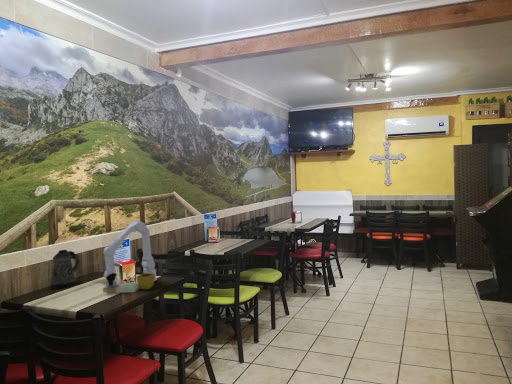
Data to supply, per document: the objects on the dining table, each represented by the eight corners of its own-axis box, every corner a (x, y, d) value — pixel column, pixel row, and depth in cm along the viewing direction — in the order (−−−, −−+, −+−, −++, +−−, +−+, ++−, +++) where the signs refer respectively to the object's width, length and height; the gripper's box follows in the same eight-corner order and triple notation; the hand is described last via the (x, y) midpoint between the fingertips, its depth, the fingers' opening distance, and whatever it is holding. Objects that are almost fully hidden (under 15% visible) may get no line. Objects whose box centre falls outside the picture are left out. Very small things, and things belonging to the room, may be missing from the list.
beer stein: (45, 288, 276) (42, 252, 274) (66, 280, 294) (64, 247, 293) (64, 289, 270) (61, 253, 269) (84, 281, 289) (82, 247, 288)
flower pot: (148, 290, 254) (147, 277, 254) (136, 290, 257) (136, 276, 257) (156, 286, 262) (155, 273, 262) (144, 286, 265) (143, 273, 265)
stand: (108, 288, 264) (107, 285, 264) (120, 288, 263) (120, 284, 263) (103, 291, 258) (102, 287, 257) (116, 291, 256) (115, 287, 256)
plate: (107, 290, 261) (106, 279, 261) (117, 289, 260) (116, 279, 260) (106, 290, 260) (106, 280, 260) (116, 290, 259) (116, 279, 259)
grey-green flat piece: (123, 287, 265) (123, 282, 265) (141, 287, 263) (141, 282, 263) (116, 292, 254) (115, 287, 254) (134, 292, 252) (134, 286, 252)
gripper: (109, 262, 267) (111, 282, 268) (98, 267, 253) (100, 288, 253) (119, 262, 266) (121, 282, 267) (109, 267, 252) (110, 288, 252)
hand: (111, 285), depth 260 cm, fingers closed on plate, 1 cm apart
